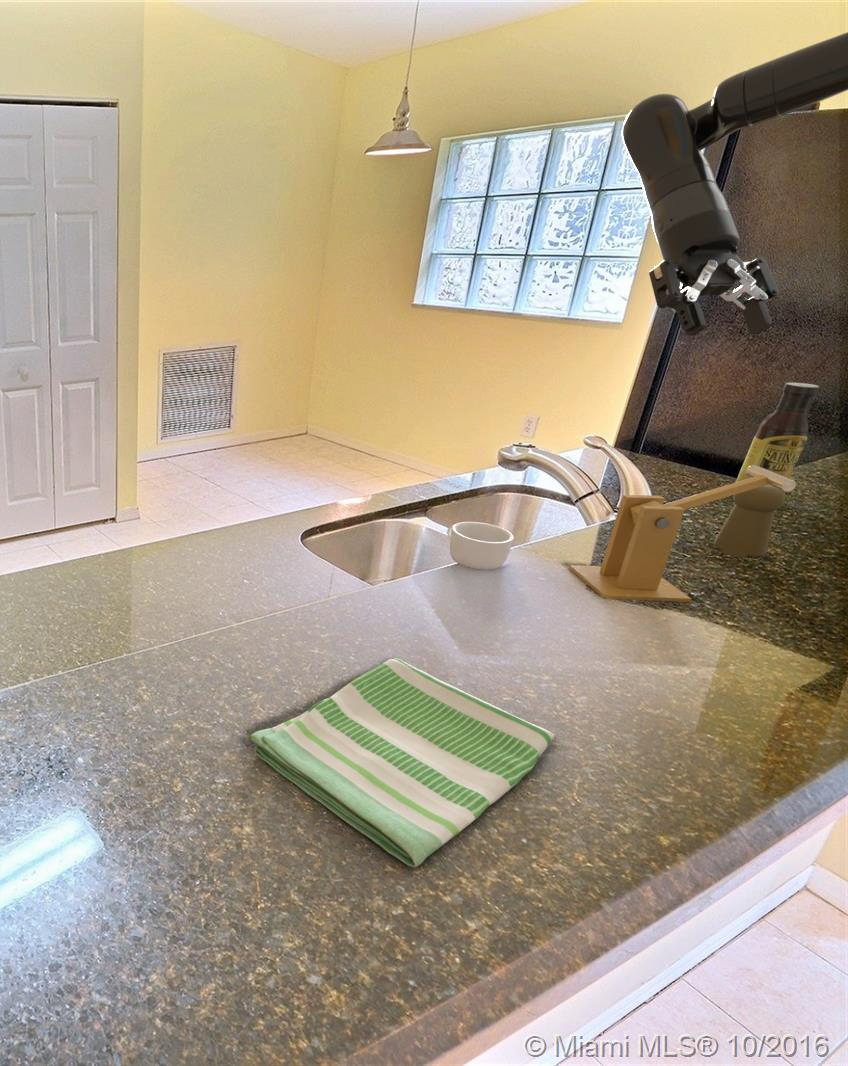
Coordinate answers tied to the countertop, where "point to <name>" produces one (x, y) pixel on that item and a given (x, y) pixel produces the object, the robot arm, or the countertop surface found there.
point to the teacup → (479, 545)
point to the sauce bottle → (782, 432)
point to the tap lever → (727, 490)
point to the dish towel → (404, 757)
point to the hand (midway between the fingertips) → (729, 331)
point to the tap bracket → (637, 554)
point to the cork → (750, 522)
